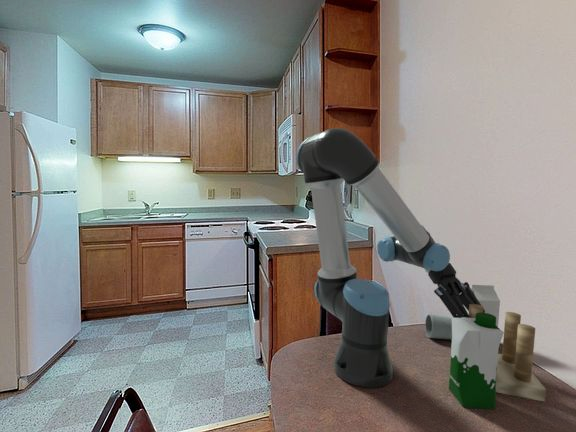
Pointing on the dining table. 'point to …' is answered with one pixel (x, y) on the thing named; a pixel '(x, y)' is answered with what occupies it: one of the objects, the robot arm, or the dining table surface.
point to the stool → (518, 361)
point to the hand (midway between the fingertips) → (488, 341)
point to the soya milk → (474, 360)
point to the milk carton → (487, 299)
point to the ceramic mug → (438, 327)
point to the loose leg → (474, 310)
